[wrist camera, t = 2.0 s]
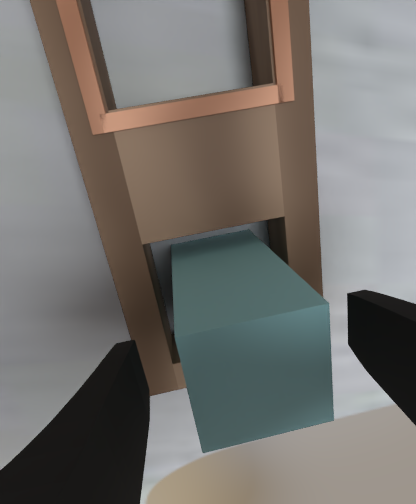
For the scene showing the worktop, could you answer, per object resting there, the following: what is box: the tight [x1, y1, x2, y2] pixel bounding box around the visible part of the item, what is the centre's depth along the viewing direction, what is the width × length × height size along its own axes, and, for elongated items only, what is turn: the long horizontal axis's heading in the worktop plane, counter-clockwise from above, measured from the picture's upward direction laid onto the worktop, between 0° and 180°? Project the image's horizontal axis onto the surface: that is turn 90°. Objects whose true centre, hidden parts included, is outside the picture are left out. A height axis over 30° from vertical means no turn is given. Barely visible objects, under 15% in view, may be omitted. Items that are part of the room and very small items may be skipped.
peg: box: [171, 229, 334, 453], centre depth 12 cm, size 4×4×8 cm
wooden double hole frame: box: [30, 0, 323, 396], centre depth 13 cm, size 9×20×3 cm, turn 10°
